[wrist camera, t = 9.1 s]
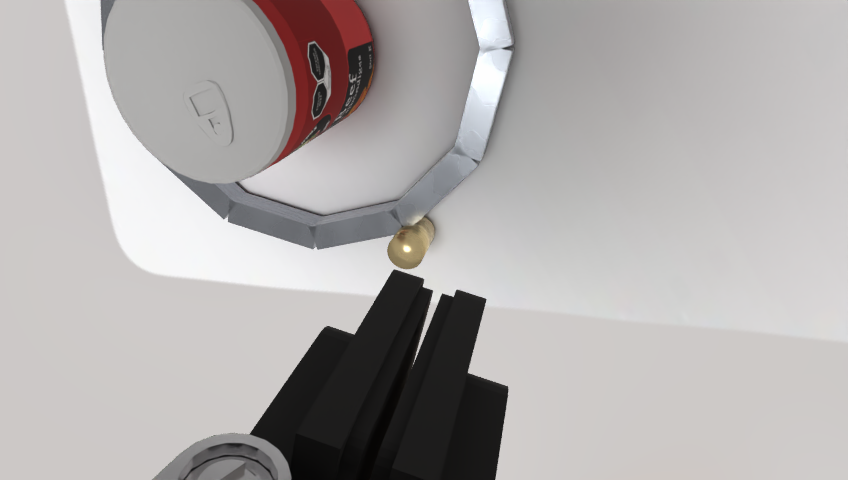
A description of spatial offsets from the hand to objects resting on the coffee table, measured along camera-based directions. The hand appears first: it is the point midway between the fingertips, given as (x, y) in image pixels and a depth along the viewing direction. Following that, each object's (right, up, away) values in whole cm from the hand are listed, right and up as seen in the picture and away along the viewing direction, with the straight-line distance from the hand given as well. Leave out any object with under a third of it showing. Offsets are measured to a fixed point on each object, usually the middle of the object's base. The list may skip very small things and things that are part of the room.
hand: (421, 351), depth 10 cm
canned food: (-6, +12, +21) cm, 25 cm away
